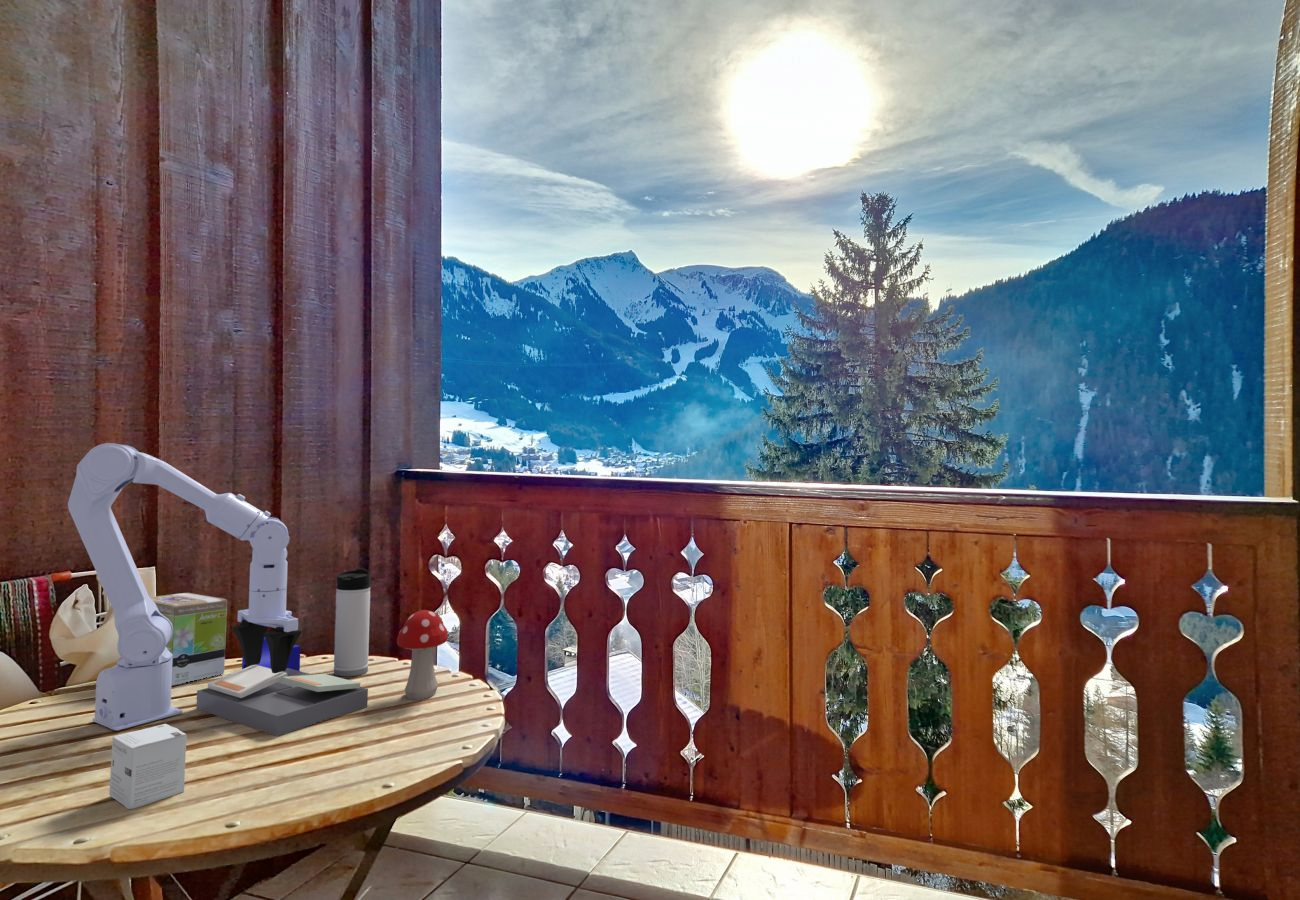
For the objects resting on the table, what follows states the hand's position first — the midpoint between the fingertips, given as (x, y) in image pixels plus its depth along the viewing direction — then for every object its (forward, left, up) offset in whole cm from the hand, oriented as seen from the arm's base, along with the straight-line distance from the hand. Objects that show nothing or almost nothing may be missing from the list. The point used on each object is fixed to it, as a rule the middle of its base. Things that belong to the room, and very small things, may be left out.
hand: (265, 668), depth 121 cm
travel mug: (+19, +3, -6) cm, 21 cm away
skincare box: (-28, -21, -6) cm, 35 cm away
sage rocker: (+3, -11, -1) cm, 11 cm away
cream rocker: (-3, 0, -1) cm, 3 cm away
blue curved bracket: (+10, +15, -6) cm, 19 cm away
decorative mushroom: (+17, -19, -6) cm, 27 cm away
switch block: (+3, -5, -6) cm, 8 cm away
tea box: (0, +29, -6) cm, 30 cm away
